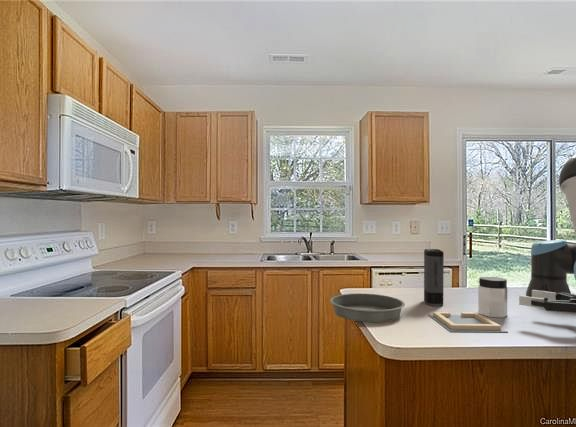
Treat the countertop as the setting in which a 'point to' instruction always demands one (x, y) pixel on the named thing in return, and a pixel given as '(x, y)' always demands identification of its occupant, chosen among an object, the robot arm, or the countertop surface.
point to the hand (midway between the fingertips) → (525, 296)
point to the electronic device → (433, 277)
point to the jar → (492, 297)
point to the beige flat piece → (467, 322)
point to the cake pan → (367, 307)
